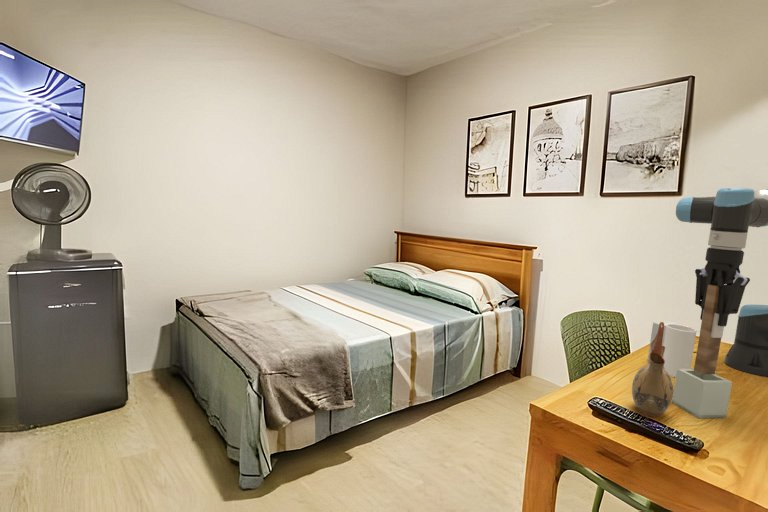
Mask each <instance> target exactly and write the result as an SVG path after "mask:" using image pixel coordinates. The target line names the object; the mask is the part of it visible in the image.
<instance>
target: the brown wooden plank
mask: <svg viewBox="0 0 768 512" xmlns="http://www.w3.org/2000/svg"><path fill="white" fill-rule="evenodd" d="M718 301H719V287H718V285H708V288H707V294H706V300H705V306H704V312H703V318H702V320H701V322H702V324H701V323H700V328H701V330H700V329H699V336H698V343H697V347H696V348H697V349H696V356H695V361H694V367H693V369H694V371H696V372H698V373H700V374H716V372H717V371H716V370H717V365H718V359H719V354H720V353H719V352H720V347H721V341H722V338H713V337H711V332H712V326H713V320H714V314H715V313H716V312H715V311H718Z"/></svg>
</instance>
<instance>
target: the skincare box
mask: <svg viewBox="0 0 768 512" xmlns="http://www.w3.org/2000/svg"><path fill="white" fill-rule="evenodd" d="M660 322H661V321H656V322H654V321H653V322H652V328H651V333H650V341H649V348H648V354H647V361H648V362H649V355H650V353H651V343H652V341H653V340H654V338H655V337H656V335H657V332H658V328H659V323H660ZM662 322H663V323H664V332H663V340H662V346H663V344H664V338H665V331H666V325H667V324H679V323H676V322H674V321H670V320H669V321H662ZM679 325H681V324H679Z"/></svg>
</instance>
